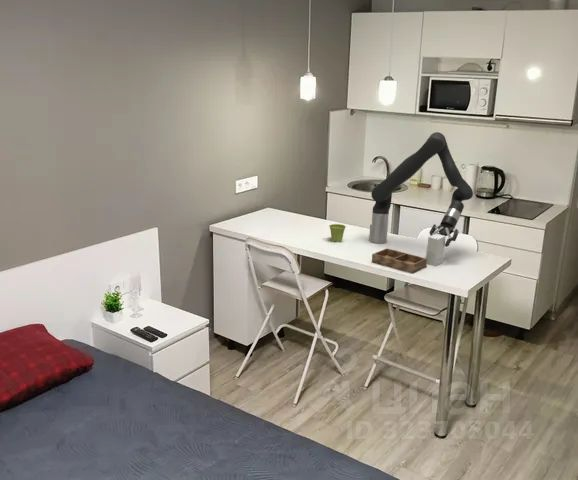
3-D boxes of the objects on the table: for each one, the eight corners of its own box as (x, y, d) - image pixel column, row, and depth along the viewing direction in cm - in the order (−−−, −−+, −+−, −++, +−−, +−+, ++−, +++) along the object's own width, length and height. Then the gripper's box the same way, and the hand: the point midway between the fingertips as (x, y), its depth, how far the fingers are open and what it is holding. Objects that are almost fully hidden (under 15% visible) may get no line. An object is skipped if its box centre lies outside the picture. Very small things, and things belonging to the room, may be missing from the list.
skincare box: (433, 260, 322) (436, 233, 318) (443, 263, 318) (446, 235, 314) (424, 263, 316) (427, 236, 312) (435, 266, 312) (438, 238, 308)
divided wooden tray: (371, 262, 316) (372, 254, 315) (386, 256, 326) (387, 248, 325) (412, 273, 301) (413, 264, 300) (426, 266, 311) (427, 258, 310)
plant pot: (325, 239, 354) (326, 224, 351) (339, 237, 358) (340, 223, 355) (333, 243, 346) (334, 229, 343) (348, 241, 350) (348, 227, 347)
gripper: (436, 212, 323) (423, 237, 318) (461, 217, 314) (449, 243, 309) (440, 220, 328) (428, 245, 323) (465, 225, 319) (452, 251, 314)
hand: (438, 244), depth 316 cm, fingers open, 8 cm apart
